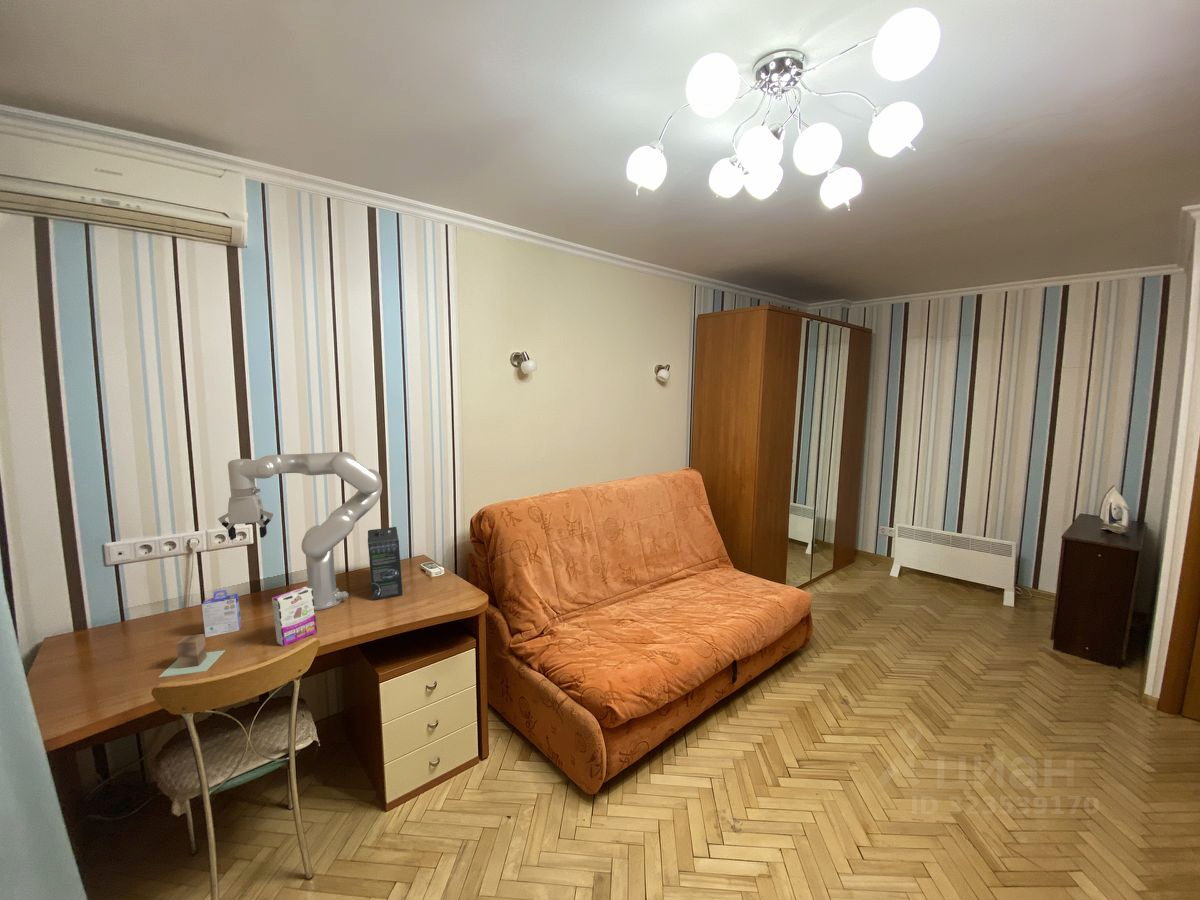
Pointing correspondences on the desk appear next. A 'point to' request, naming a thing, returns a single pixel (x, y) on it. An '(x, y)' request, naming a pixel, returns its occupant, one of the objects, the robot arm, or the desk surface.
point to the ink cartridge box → (221, 614)
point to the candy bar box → (294, 615)
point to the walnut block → (191, 651)
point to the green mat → (201, 668)
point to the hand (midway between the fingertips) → (248, 537)
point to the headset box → (384, 563)
